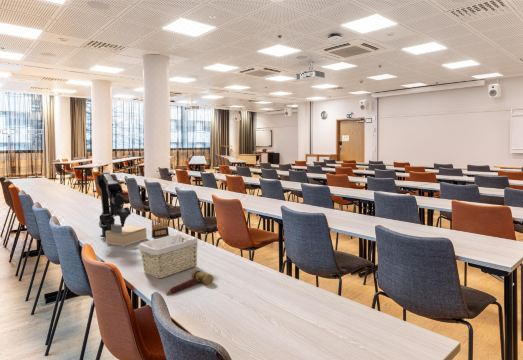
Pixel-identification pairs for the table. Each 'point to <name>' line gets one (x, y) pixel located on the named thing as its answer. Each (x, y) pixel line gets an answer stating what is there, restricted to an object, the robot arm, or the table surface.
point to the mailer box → (126, 238)
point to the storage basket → (169, 255)
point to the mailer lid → (124, 229)
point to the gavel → (193, 281)
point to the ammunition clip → (159, 228)
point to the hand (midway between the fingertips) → (116, 228)
